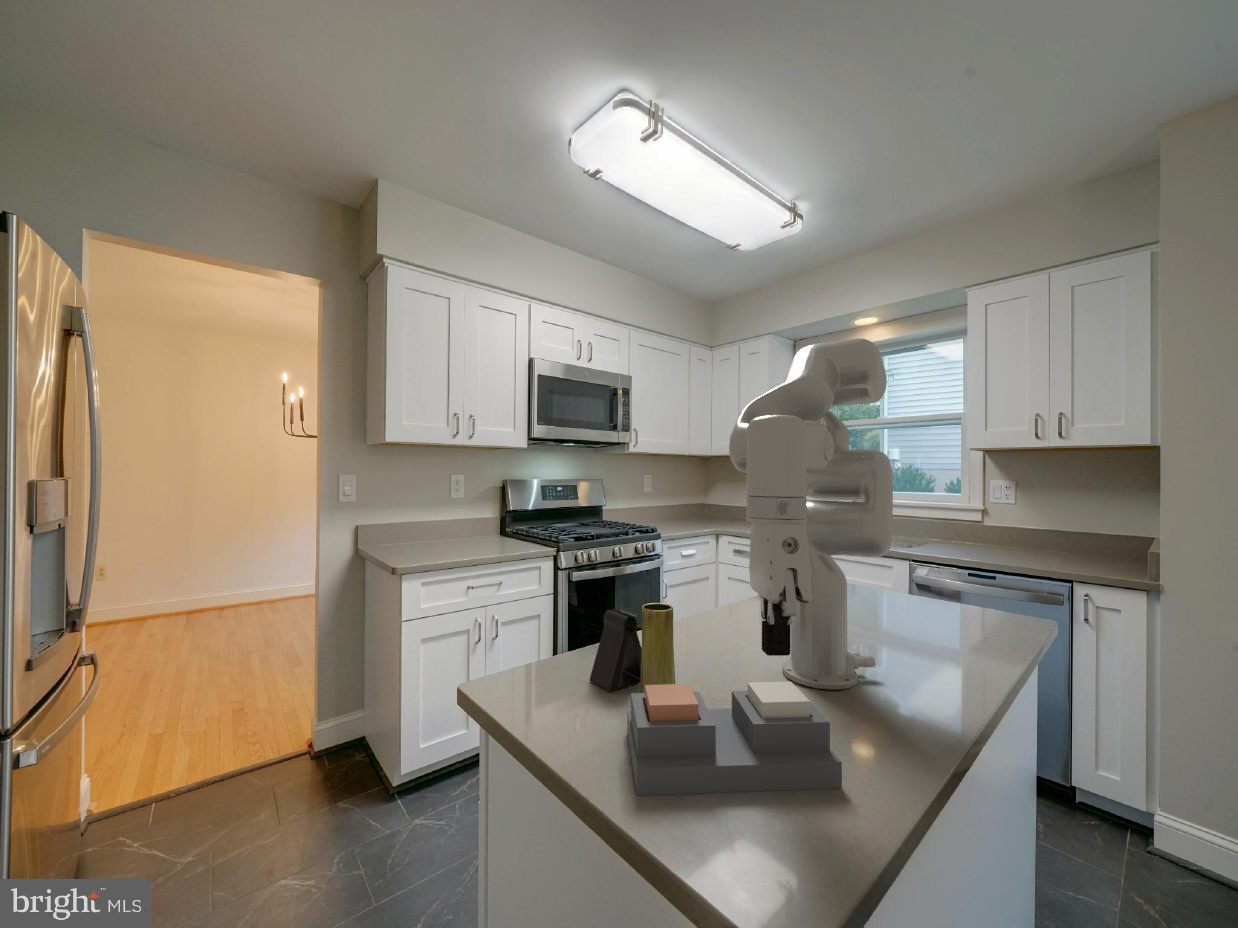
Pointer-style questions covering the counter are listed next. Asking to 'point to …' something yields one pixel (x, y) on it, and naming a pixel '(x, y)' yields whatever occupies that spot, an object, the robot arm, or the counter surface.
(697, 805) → the counter surface
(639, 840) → the counter surface
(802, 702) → the ivory button
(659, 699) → the terracotta button
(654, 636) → the vase
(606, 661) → the phone stand
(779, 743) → the button panel
